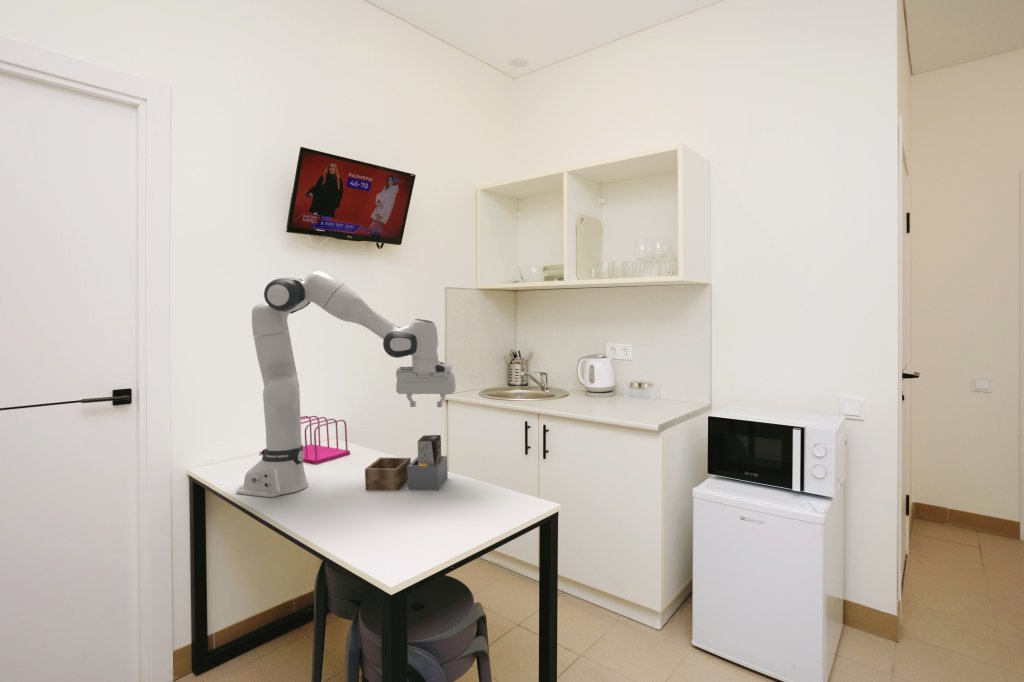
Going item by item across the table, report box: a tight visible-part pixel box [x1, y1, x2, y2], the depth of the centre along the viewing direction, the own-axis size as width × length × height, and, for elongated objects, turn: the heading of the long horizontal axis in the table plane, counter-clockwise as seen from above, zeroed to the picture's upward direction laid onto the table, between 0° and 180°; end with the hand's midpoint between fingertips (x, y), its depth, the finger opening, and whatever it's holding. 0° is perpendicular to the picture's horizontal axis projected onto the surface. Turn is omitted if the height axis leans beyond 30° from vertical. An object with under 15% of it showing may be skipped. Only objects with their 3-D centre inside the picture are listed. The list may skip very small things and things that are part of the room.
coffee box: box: [417, 434, 442, 466], centre depth 183 cm, size 9×6×16 cm
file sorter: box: [300, 415, 351, 465], centre depth 223 cm, size 17×25×16 cm
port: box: [407, 455, 449, 492], centre depth 183 cm, size 10×13×9 cm
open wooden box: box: [364, 457, 412, 491], centre depth 184 cm, size 11×14×7 cm
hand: (426, 406), depth 182 cm, fingers open, 8 cm apart
